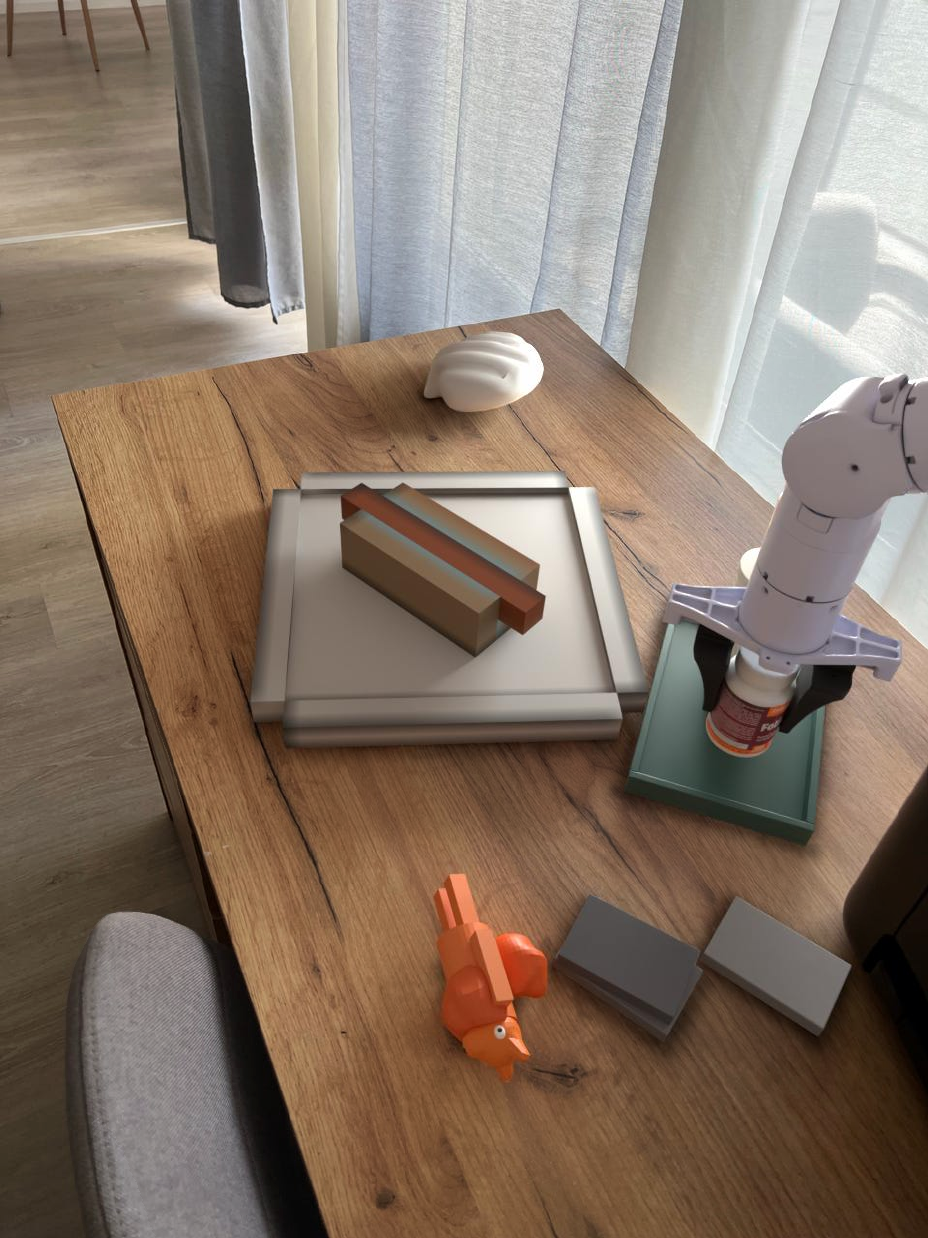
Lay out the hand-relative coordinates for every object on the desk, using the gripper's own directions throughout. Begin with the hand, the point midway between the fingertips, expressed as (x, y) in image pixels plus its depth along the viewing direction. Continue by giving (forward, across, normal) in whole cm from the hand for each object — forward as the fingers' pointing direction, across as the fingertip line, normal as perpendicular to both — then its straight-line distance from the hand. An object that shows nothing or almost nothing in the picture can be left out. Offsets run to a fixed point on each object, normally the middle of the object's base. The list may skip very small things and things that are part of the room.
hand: (745, 711), depth 67 cm
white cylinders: (+6, 0, +10) cm, 12 cm away
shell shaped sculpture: (+7, -32, +41) cm, 53 cm away
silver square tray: (+7, -25, +8) cm, 28 cm away
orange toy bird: (+7, -12, -22) cm, 26 cm away
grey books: (+7, +1, -16) cm, 18 cm away
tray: (+7, 0, +6) cm, 9 cm away
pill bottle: (+3, 0, 0) cm, 3 cm away
